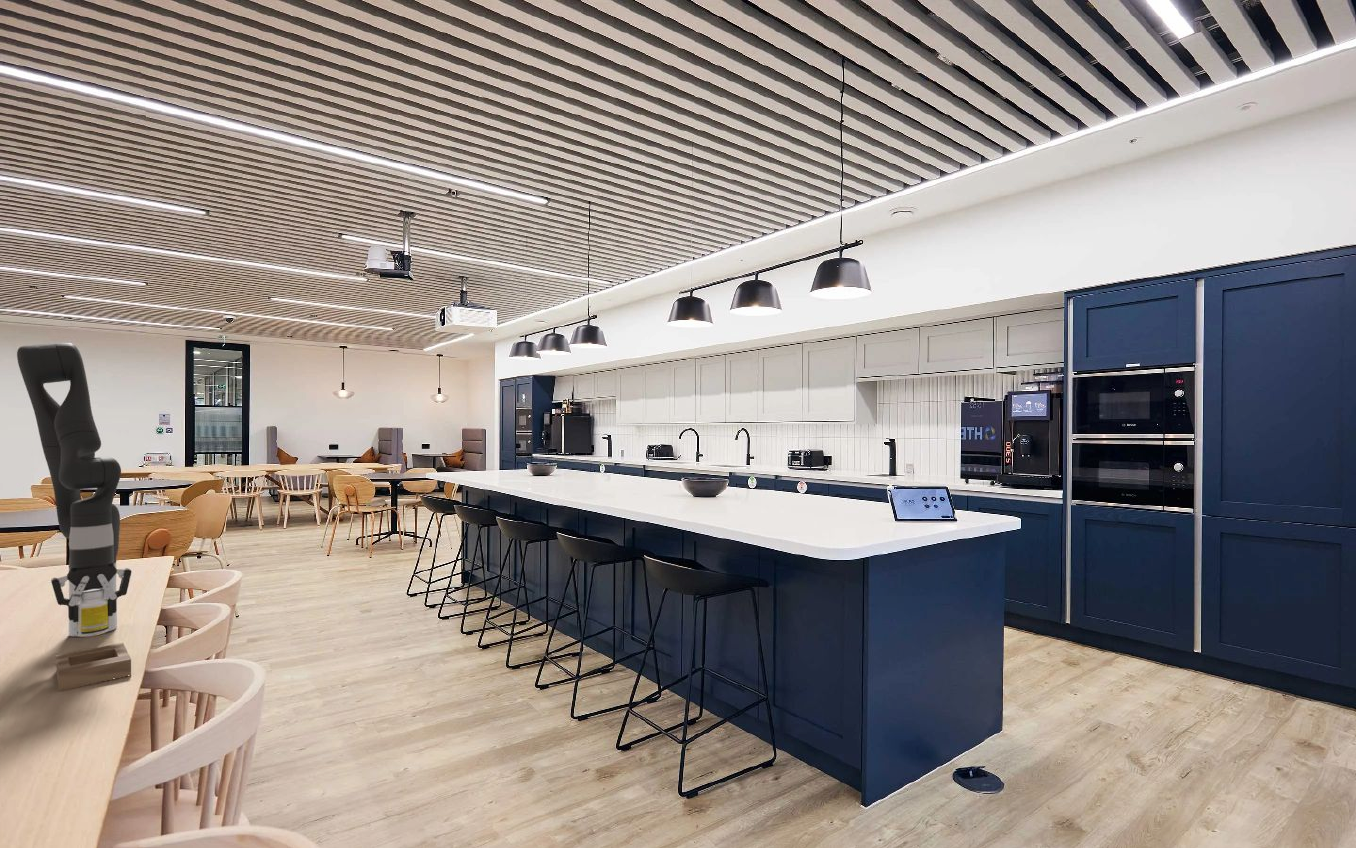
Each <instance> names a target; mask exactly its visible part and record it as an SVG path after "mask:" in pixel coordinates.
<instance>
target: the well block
mask: <svg viewBox="0 0 1356 848" xmlns="http://www.w3.org/2000/svg"><path fill="white" fill-rule="evenodd" d="M55 671H56V672H55V673H56V679H57V687H58V692H62V691H67V690H71V689H76V688H80V687H85V685H86V686H89V684H91V685H94V684H98V683H97V682H100V683H102V682H101V681H105V682H107V681H106V680H110V679H113V678H119V679H122V678H121V677H124V678H126V677H125V676H128V675H131V676H132V658H131V656H130V654H129V652H128V650H127V648H126V646H125V644H124V642H121V643H115V644H109V645H104V646H99V647H98V646H97V647H93V648H88V649H82V650H76V651H71V652H64V653H60V654H56V655H55ZM128 677H129V676H128ZM110 681H111V680H110Z"/></svg>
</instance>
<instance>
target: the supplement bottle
mask: <svg viewBox="0 0 1356 848" xmlns="http://www.w3.org/2000/svg"><path fill="white" fill-rule="evenodd" d="M103 596H104V589H93V590H87V591H83V592H82V594H81V599H82V601H81V602H79V603H78V604H77V635H78V637H80V638H82V637H83V638H86V637H93V636H94V637H95V636H98V635H102V634H106V633H108V632H109V631H108V630H109V618H108V617H109V616H108V600H107V599H105V598H103ZM107 631H108V632H107Z"/></svg>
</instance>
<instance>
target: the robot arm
mask: <svg viewBox="0 0 1356 848" xmlns="http://www.w3.org/2000/svg"><path fill="white" fill-rule="evenodd" d="M16 357H17V364H18V367H19V368H18V369H19V370H20V375H21V376H22V379H23V382H24V385H25V388H26V391H27V394H28V397H29V399H30V403H31V405H32V408H33V413H34V416H35V420H36V424H37V429H38V433H39V434H38V435H39V439H40V443H41V447H42V450H43V455H44V458H45V460H46V461H45V462H46V464H47V467H48V471H49V475H50V479H51V483H52V488H53V492H54V501H55V509H56V516H57V522H58V526H59V530H60V532H61V534H62V535H63V537H64V538H66V539H67V540H68V541H69V542H68V547H69V549H68V550H69V559H68V573H67V574H66V575H64V576H60V577H52V578H51V580H50V583H51V586H52V589H53V592H54V595H55V598H56V599H55V600H56V602H57V604H58V605H59V606H67V609H68V614H67V617H68V636H69V637H79V636H78V635H77V604H78V603H79V602H81V601H82V599H81V594H82V592H83V591H87V590H93V589H104V596H103V598H105V599H107V600H108V616H109V617H108V618H109V630H108V631H107V632H106V633H108V632H111V631H114V630H115V629H117V625H118V598H119V597H122V596H125V595H127V593H128V589H129V585H130V580H131V576H132V570H131V569H130V568H127V567H126V568H117V556H118V553H119V547H120V545H119V544H120V543H119V542H120V541H119V540H120V528H121V527H120V526H121V517H120V516H121V515H120V511H119V509H118V507H117V506H116V504H113V500H114V497H115V494H116V491H117V488H118V485H119V482H120V480H121V476H122V468H121V465H120V463H119V461H117V459H115V458H113V457H110V456H102V457H101V456H100V457H99V456H98V457H95V456H96V452H98V451H99V450H100V449H101V447H102V440H101V438H100V437H101V436H100V434H99V432H98V428H97V425H96V422H95V419H94V416H93V411H92V406H91V400H90V398H91V397H90V390H89V385H88V379H87V374H86V371H85V364H84V361H83V358H82V355H81V353H80V350H79V349H78V347H77V346H76V345H75V344H74V343H71V342H57V343H56V342H55V343H42V344H31V345H23V346H20V347H19V348H18V349H17V351H16ZM61 382H70V386H69V390H68V393H67V395H66V397H65V399H64V400H63V402H62V403H61V404H59V403H58V402H57V400H55V399H54V398H53V397H52V396H51V395H50V393H48V390H46V388H45V387H44V385H45V384H51V383H61ZM86 489H87V490H88V489H96V490H95V492H94V493H93V494H92V495H90V497H89V496H88V497H85V498H82V494H81V493H82V492H81V490H86ZM117 575H118V578H119V579H121V581H120V584H119V589H118V590H117ZM66 582H68V598H65V597H64V593H63V590H62V588H64V587H65V586H66Z"/></svg>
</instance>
